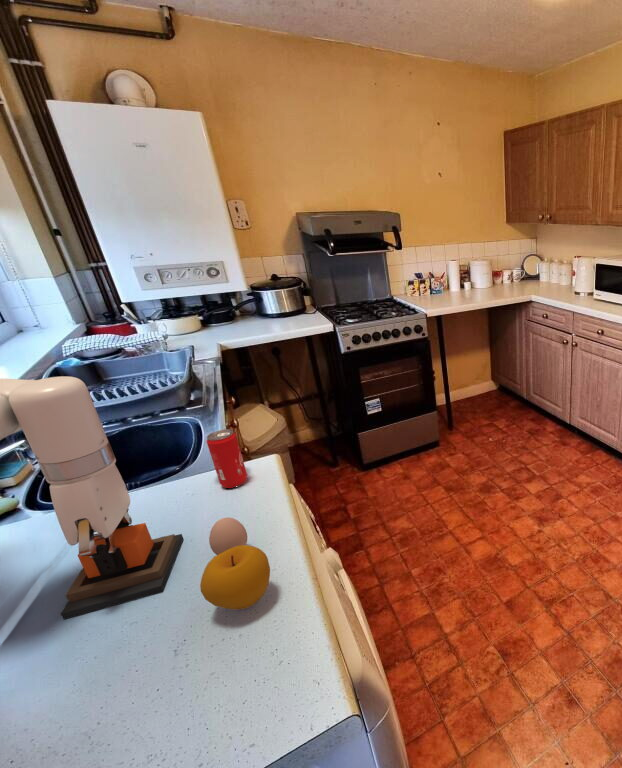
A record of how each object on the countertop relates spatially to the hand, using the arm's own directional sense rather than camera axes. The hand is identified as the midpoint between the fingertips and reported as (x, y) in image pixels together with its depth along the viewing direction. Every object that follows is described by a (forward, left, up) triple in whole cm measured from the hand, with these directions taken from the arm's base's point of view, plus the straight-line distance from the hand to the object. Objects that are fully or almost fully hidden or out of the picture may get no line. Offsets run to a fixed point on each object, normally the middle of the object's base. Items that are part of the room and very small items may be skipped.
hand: (121, 558), depth 70 cm
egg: (+15, -2, -4) cm, 16 cm away
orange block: (0, 0, 0) cm, 0 cm away
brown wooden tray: (0, 0, -3) cm, 3 cm away
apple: (+18, -14, -4) cm, 23 cm away
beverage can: (+12, +23, -4) cm, 26 cm away
